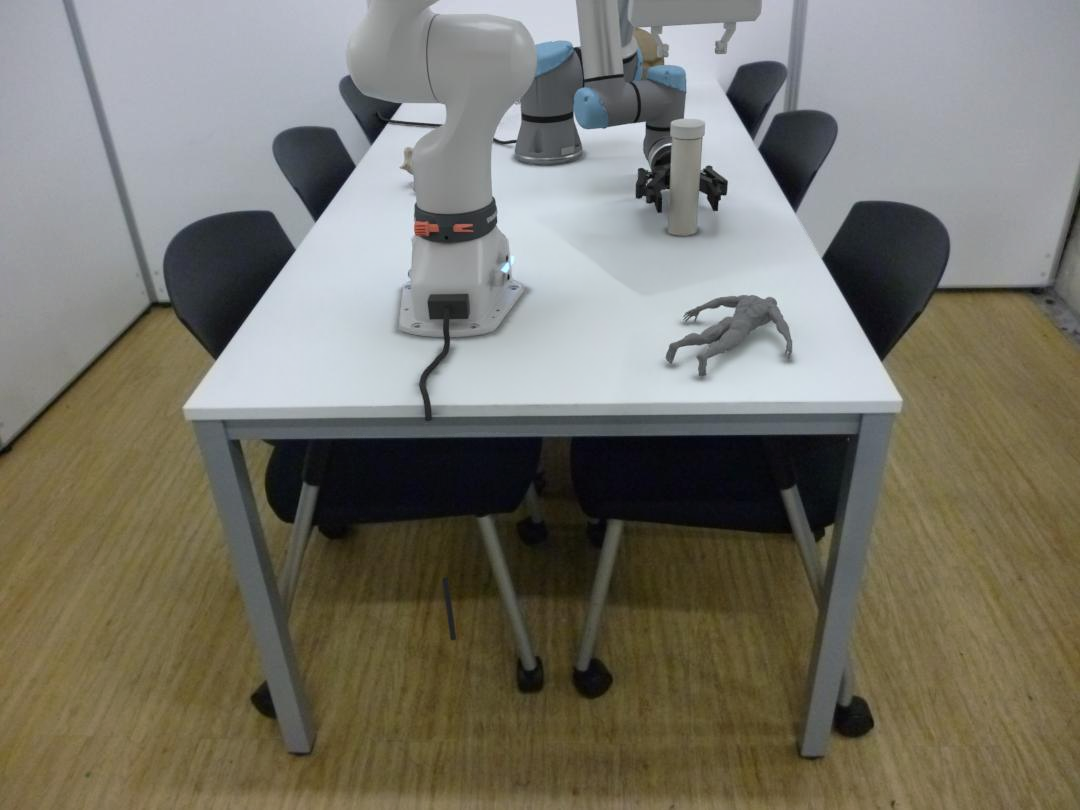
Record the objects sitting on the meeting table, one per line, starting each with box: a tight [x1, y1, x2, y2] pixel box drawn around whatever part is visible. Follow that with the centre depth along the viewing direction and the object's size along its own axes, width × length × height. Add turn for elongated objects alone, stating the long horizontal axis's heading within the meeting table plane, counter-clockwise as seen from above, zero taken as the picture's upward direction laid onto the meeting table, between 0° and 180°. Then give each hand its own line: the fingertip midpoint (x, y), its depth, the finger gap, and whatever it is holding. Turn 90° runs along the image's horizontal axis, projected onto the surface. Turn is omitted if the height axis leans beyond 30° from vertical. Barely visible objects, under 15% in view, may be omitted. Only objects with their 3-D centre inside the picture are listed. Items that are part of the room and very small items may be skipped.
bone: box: [399, 146, 415, 193], centre depth 172 cm, size 10×6×10 cm
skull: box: [633, 27, 665, 81], centre depth 227 cm, size 16×22×25 cm
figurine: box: [665, 294, 793, 377], centre depth 110 cm, size 17×4×20 cm
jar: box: [667, 136, 704, 237], centre depth 142 cm, size 5×5×18 cm
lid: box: [670, 118, 706, 139], centre depth 137 cm, size 6×6×2 cm
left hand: (691, 55), depth 131 cm, fingers open, 8 cm apart
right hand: (688, 204), depth 139 cm, fingers open, 9 cm apart
